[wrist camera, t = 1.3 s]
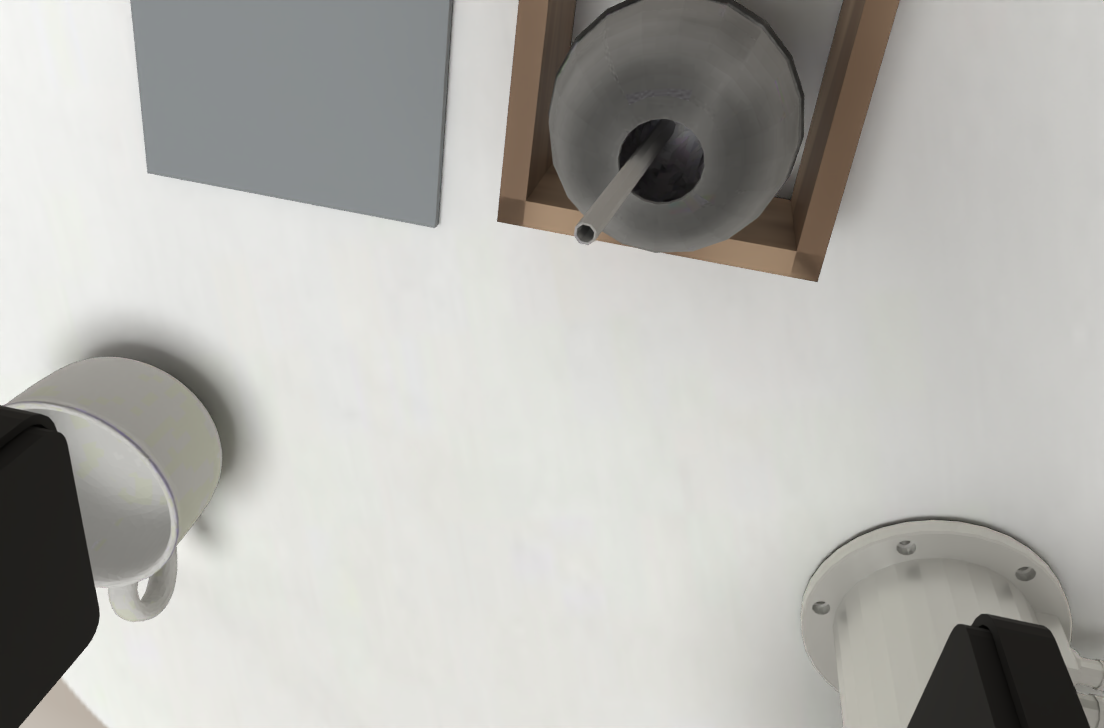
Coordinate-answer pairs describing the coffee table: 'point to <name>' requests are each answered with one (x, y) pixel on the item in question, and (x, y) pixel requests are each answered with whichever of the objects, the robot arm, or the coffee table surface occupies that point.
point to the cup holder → (785, 225)
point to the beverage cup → (674, 122)
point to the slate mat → (299, 99)
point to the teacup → (132, 469)
